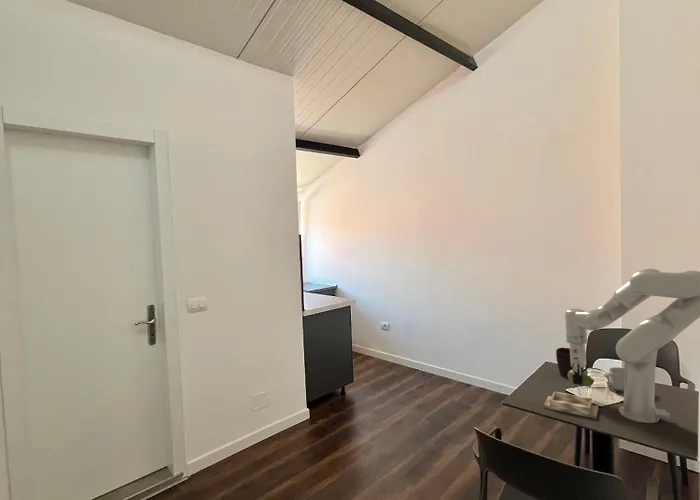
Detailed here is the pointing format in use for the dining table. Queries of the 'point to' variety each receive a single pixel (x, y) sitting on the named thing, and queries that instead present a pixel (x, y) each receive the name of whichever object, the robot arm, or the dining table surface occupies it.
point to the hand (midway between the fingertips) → (578, 381)
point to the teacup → (616, 378)
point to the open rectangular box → (572, 404)
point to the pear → (585, 378)
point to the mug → (565, 361)
